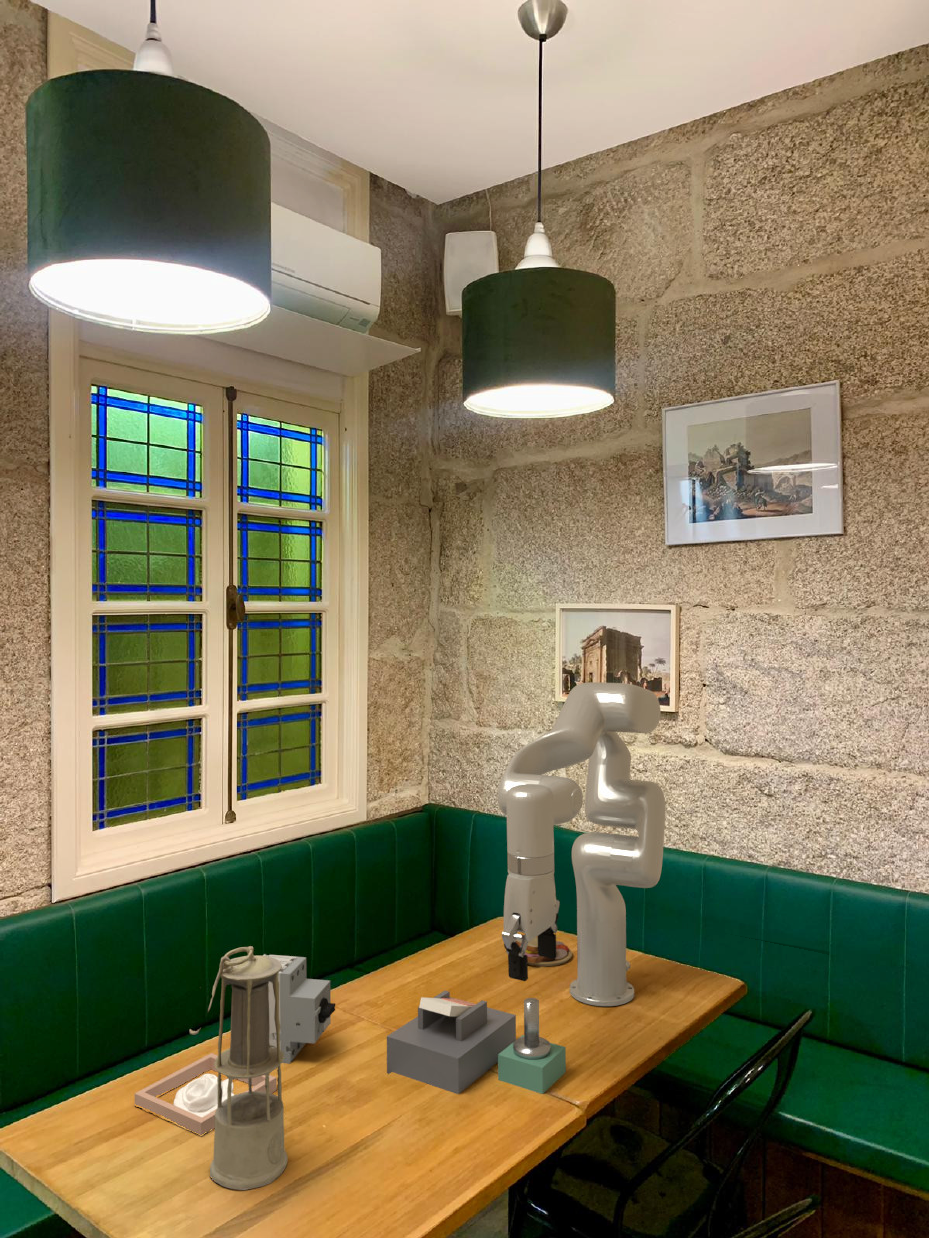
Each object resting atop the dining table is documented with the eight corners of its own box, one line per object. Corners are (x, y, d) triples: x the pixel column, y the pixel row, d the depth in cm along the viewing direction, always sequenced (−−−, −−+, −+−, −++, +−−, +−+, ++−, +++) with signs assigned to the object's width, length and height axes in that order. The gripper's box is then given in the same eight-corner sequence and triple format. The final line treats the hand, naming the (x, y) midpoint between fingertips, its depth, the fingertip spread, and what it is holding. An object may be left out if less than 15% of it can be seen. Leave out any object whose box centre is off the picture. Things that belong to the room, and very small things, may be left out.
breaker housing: (448, 1029, 161) (448, 977, 161) (515, 1049, 153) (515, 994, 153) (386, 1072, 146) (386, 1014, 146) (458, 1097, 138) (458, 1035, 138)
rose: (250, 1068, 139) (213, 1100, 130) (251, 1097, 139) (213, 1130, 130) (197, 1058, 143) (156, 1088, 134) (197, 1086, 143) (156, 1118, 134)
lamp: (300, 1170, 120) (298, 948, 120) (205, 1209, 112) (204, 971, 112) (269, 1135, 128) (267, 927, 128) (178, 1168, 121) (177, 947, 121)
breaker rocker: (453, 1009, 155) (455, 998, 156) (483, 1017, 152) (485, 1006, 153) (419, 1007, 147) (421, 996, 147) (449, 1016, 144) (451, 1004, 144)
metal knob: (524, 1062, 148) (524, 990, 148) (557, 1072, 145) (556, 998, 145) (506, 1078, 143) (505, 1003, 143) (539, 1088, 140) (539, 1012, 140)
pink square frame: (211, 1064, 149) (211, 1052, 149) (276, 1089, 141) (276, 1077, 141) (134, 1106, 136) (134, 1093, 136) (201, 1136, 128) (201, 1122, 128)
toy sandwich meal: (583, 962, 193) (583, 940, 193) (529, 973, 187) (528, 951, 187) (552, 943, 204) (552, 923, 204) (500, 953, 198) (500, 932, 198)
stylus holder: (522, 1061, 149) (522, 1034, 149) (565, 1074, 145) (565, 1046, 145) (498, 1082, 143) (498, 1054, 143) (542, 1096, 138) (542, 1067, 138)
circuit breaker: (324, 1066, 148) (324, 976, 148) (244, 1059, 151) (244, 970, 151) (340, 1045, 155) (339, 959, 155) (263, 1038, 158) (262, 954, 158)
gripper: (535, 846, 153) (537, 944, 154) (482, 873, 139) (485, 982, 139) (575, 852, 149) (577, 953, 150) (525, 881, 135) (527, 993, 135)
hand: (533, 967), depth 144 cm, fingers open, 9 cm apart
